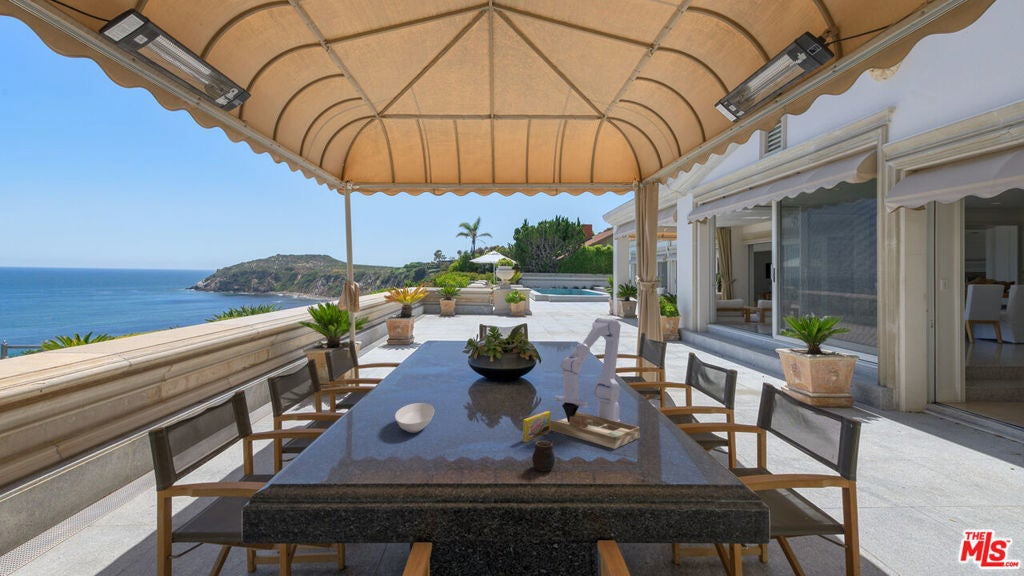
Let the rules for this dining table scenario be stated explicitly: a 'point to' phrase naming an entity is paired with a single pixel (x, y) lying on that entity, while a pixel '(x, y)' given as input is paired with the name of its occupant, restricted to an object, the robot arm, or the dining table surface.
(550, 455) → the mate gourd
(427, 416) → the bowl
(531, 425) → the candy box
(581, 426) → the block
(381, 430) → the dining table surface
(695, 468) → the dining table surface
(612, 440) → the box
